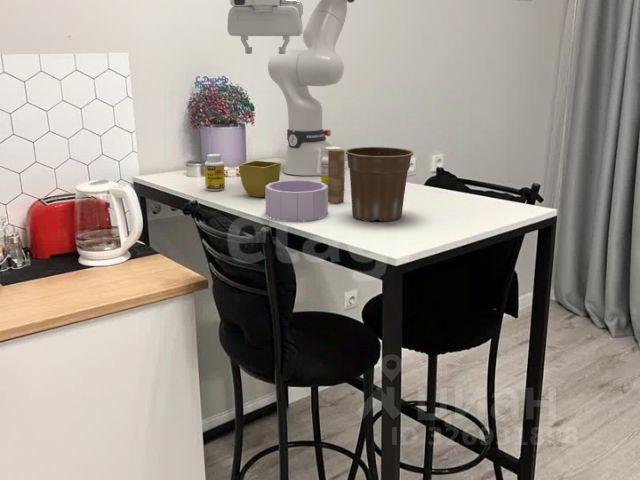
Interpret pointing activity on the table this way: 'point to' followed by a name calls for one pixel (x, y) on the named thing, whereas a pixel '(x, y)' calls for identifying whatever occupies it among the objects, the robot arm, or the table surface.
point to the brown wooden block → (336, 176)
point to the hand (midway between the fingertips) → (265, 53)
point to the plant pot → (378, 181)
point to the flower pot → (258, 176)
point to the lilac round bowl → (296, 200)
